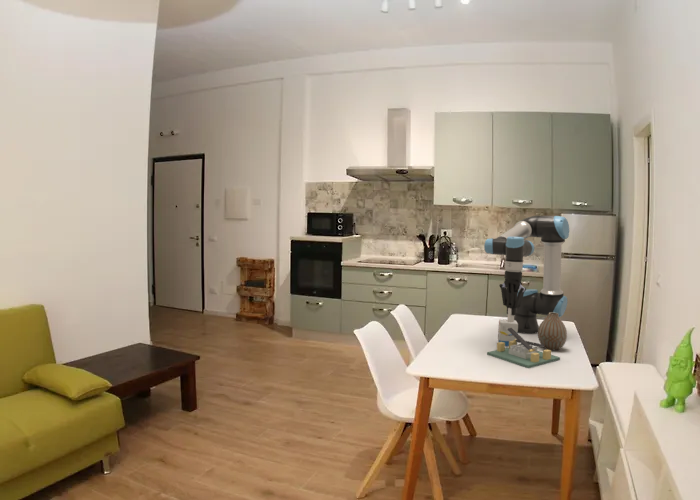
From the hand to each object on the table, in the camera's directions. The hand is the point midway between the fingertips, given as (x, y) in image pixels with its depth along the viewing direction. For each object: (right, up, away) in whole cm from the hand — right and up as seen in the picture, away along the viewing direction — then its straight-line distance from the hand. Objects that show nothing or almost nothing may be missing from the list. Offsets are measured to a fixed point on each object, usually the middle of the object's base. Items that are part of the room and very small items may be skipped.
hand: (510, 321), depth 220 cm
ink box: (+5, -15, +21) cm, 26 cm away
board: (+6, -16, 0) cm, 17 cm away
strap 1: (+3, -8, -4) cm, 9 cm away
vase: (+25, -15, +15) cm, 33 cm away
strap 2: (+9, -10, +2) cm, 14 cm away
